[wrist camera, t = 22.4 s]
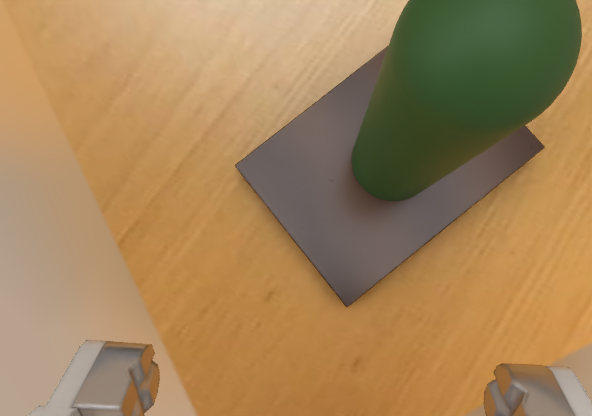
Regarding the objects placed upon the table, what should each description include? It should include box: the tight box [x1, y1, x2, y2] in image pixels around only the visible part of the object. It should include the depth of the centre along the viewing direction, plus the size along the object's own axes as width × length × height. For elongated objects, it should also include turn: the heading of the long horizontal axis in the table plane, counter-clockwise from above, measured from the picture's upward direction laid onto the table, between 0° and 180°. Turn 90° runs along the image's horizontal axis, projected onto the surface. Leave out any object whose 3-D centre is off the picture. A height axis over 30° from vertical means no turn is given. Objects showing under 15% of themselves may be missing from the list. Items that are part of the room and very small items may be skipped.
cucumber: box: [352, 0, 582, 201], centre depth 16 cm, size 5×5×14 cm
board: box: [235, 46, 544, 307], centre depth 24 cm, size 14×10×2 cm
